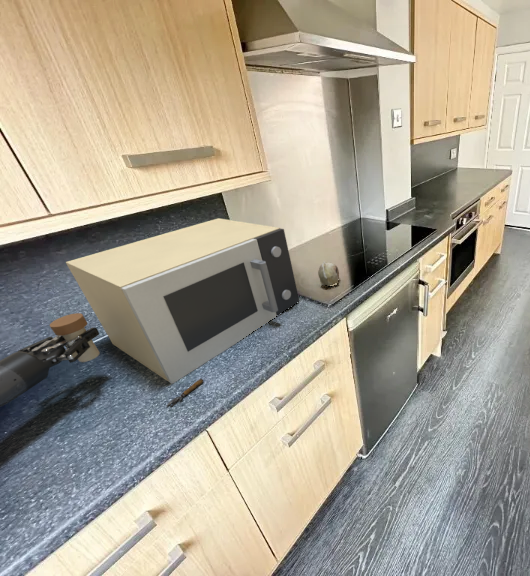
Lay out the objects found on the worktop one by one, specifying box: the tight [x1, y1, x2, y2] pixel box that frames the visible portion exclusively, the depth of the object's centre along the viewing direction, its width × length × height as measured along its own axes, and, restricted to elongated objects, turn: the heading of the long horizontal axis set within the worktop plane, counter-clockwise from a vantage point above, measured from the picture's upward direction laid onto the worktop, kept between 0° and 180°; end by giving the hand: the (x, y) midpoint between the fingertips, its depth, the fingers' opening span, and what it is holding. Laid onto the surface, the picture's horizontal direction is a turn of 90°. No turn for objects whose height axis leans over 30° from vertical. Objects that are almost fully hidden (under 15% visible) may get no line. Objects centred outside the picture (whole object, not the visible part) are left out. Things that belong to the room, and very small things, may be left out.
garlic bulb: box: [317, 261, 340, 287], centre depth 120 cm, size 9×8×10 cm
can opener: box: [165, 378, 204, 408], centre depth 75 cm, size 9×2×1 cm, turn 149°
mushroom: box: [49, 312, 100, 363], centre depth 75 cm, size 6×6×11 cm
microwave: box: [65, 217, 300, 383], centre depth 97 cm, size 35×44×27 cm
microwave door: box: [121, 239, 278, 385], centre depth 84 cm, size 7×34×27 cm, turn 148°
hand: (88, 330), depth 78 cm, fingers closed on mushroom, 4 cm apart
